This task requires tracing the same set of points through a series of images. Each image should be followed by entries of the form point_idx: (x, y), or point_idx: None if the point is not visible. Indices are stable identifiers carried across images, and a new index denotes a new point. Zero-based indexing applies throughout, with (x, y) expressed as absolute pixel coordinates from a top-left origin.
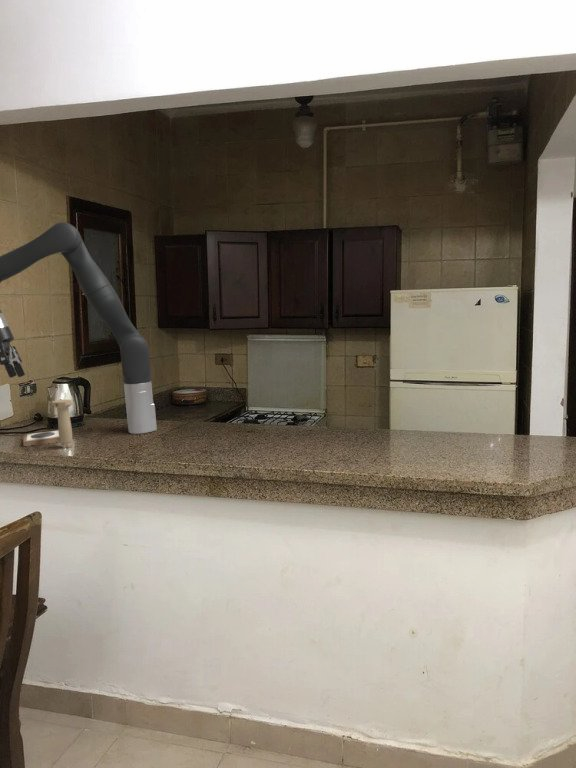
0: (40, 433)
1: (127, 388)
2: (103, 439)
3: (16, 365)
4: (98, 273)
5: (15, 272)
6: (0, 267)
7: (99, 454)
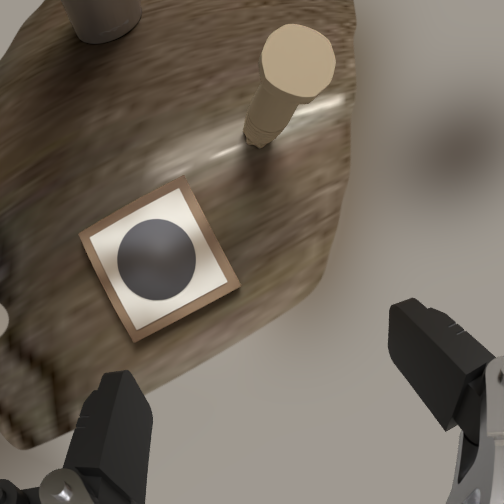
0: (131, 282)
1: None
2: (179, 69)
3: (117, 500)
4: None
5: None
6: None
7: None
